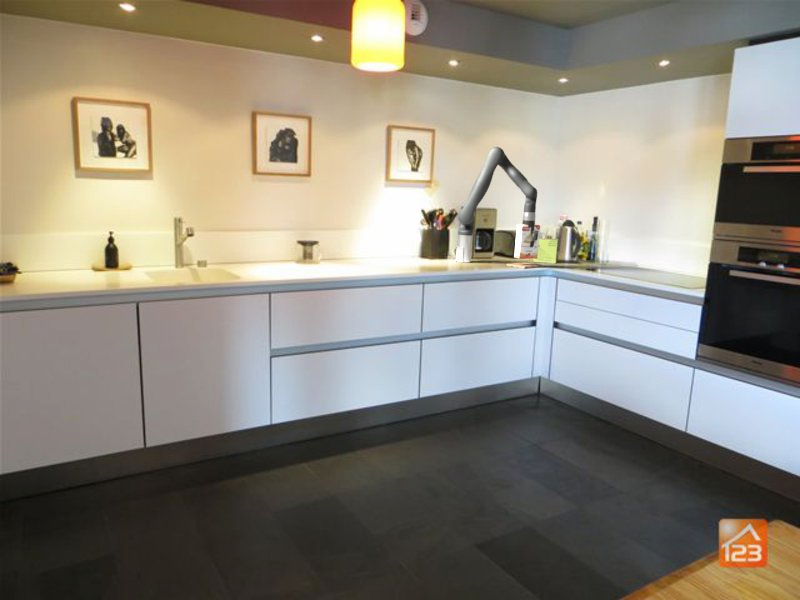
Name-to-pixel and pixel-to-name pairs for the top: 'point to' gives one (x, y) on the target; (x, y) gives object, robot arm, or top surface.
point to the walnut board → (525, 265)
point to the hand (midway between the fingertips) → (526, 246)
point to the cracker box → (526, 242)
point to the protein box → (547, 250)
